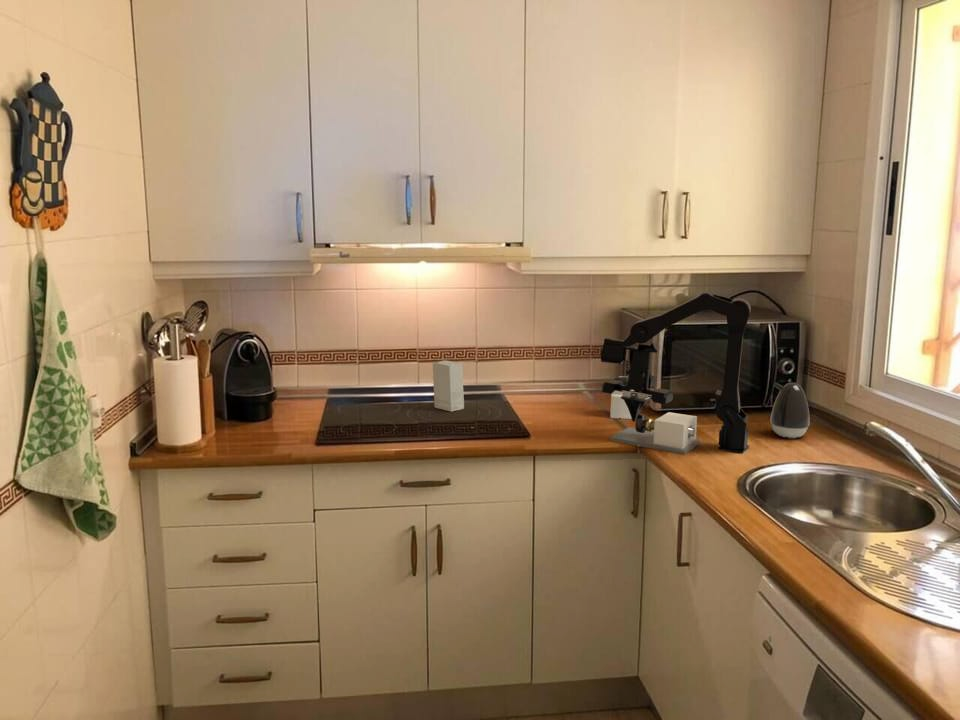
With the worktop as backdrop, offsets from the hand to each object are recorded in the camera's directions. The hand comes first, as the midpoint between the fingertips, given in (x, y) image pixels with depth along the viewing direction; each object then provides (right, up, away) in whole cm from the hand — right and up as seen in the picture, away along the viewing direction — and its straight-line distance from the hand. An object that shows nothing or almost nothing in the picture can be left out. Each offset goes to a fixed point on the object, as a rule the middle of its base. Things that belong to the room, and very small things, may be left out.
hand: (634, 421), depth 221 cm
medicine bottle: (+1, 0, +24) cm, 24 cm away
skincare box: (-53, +1, +32) cm, 61 cm away
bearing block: (+5, -5, -3) cm, 8 cm away
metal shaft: (+8, -4, -4) cm, 10 cm away
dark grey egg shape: (+44, -4, +4) cm, 44 cm away
